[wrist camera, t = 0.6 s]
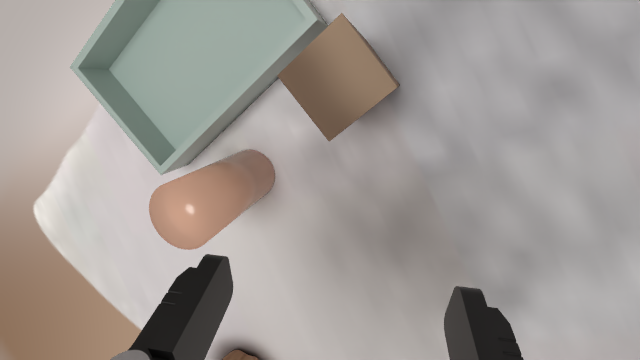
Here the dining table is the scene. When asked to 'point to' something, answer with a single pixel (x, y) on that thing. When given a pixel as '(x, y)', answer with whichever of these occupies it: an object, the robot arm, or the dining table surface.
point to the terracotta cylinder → (209, 198)
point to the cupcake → (239, 356)
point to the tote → (189, 66)
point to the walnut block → (337, 78)
